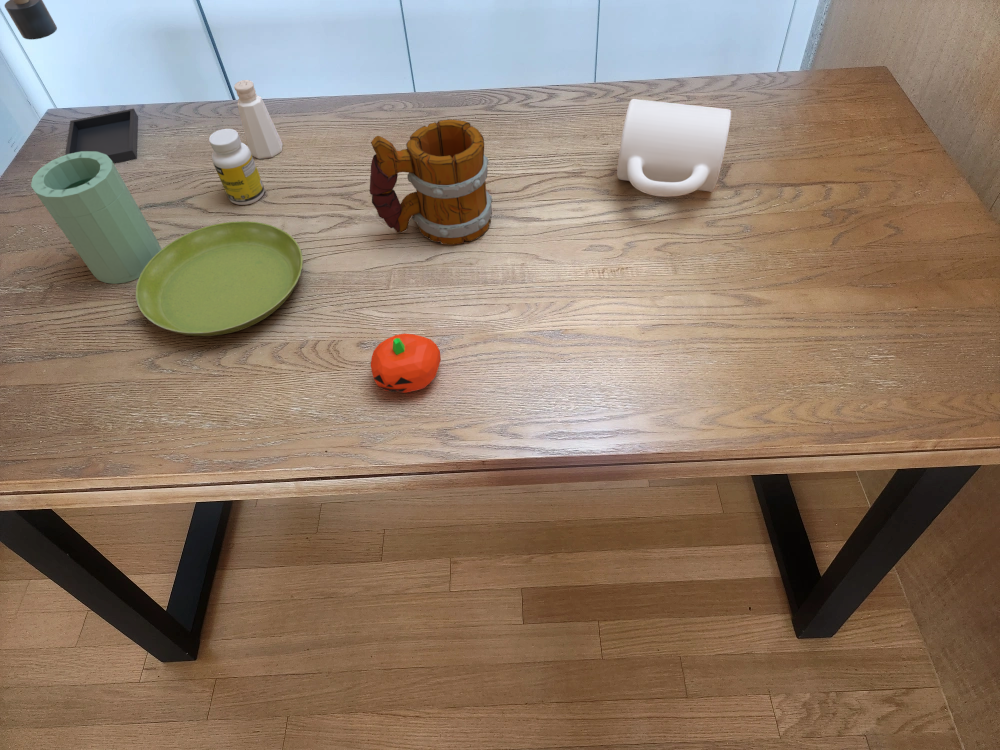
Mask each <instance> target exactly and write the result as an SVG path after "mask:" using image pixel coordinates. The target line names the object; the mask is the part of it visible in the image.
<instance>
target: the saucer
mask: <svg viewBox="0 0 1000 750" xmlns="http://www.w3.org/2000/svg"><path fill="white" fill-rule="evenodd" d="M161 249H162V250H160V251H159V252H158V253H157V254H156V255H155V256H154V257H153V258H152V259H151V260H150V261H149V262H148V264H147V265H146V266H145V268H144V269H143V271H142V272H141V274H140V277H139V278H138V279H137V282H136V287H135V301H136V304H137V307H138V309H139V310H140V312H141V314H142V315H143V316H144V317H145V318H146V320H148V321H149V322H150V323H152V324H154V325H156V326H158V327H159V328H162V329H164V330H167V331H170V332H173V333H176V334H180V335H186V336H191V337H192V336H194V337H211V336H212V337H213V336H220V335H227V334H232V333H235V332H239V331H242V330H245V329H247V328H250V327H251V326H254V325H256V324H258V323H260V322H261V321H263V320H264V319H266V318H268V317H269V316H270V315H272V314H273V313H274V312H276V311H277V310H278V309H279V308H280V307H281V306H283V304H284V303H285V302H286V301H287V300H288V299H289V297H290V296H291V295H292V293H293V291H294V290H295V288H296V287H297V284H298V282H299V280H300V277H301V274H302V270H303V266H304V259H303V252H302V250H301V247H300V245H299V243H298V242H297V241H296V239H295V238H294V237H293V236H292V235H291V234H290V233H288V232H287V231H285V230H284V229H281V228H280V227H277V226H275V225H273V224H268V223H264V222H260V221H259V222H258V221H248V220H247V221H246V220H244V221H243V220H242V221H241V220H237V221H228V222H221V223H216V224H211V225H207V226H203V227H202V228H201V227H200V228H198V229H195V230H193V231H190V232H188V233H186V234H184V235H182V236H180V237H178V238H177V239H175V240H173V241H172V242H170V243H169V244H167V245H165V247H163V248H161Z"/></svg>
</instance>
